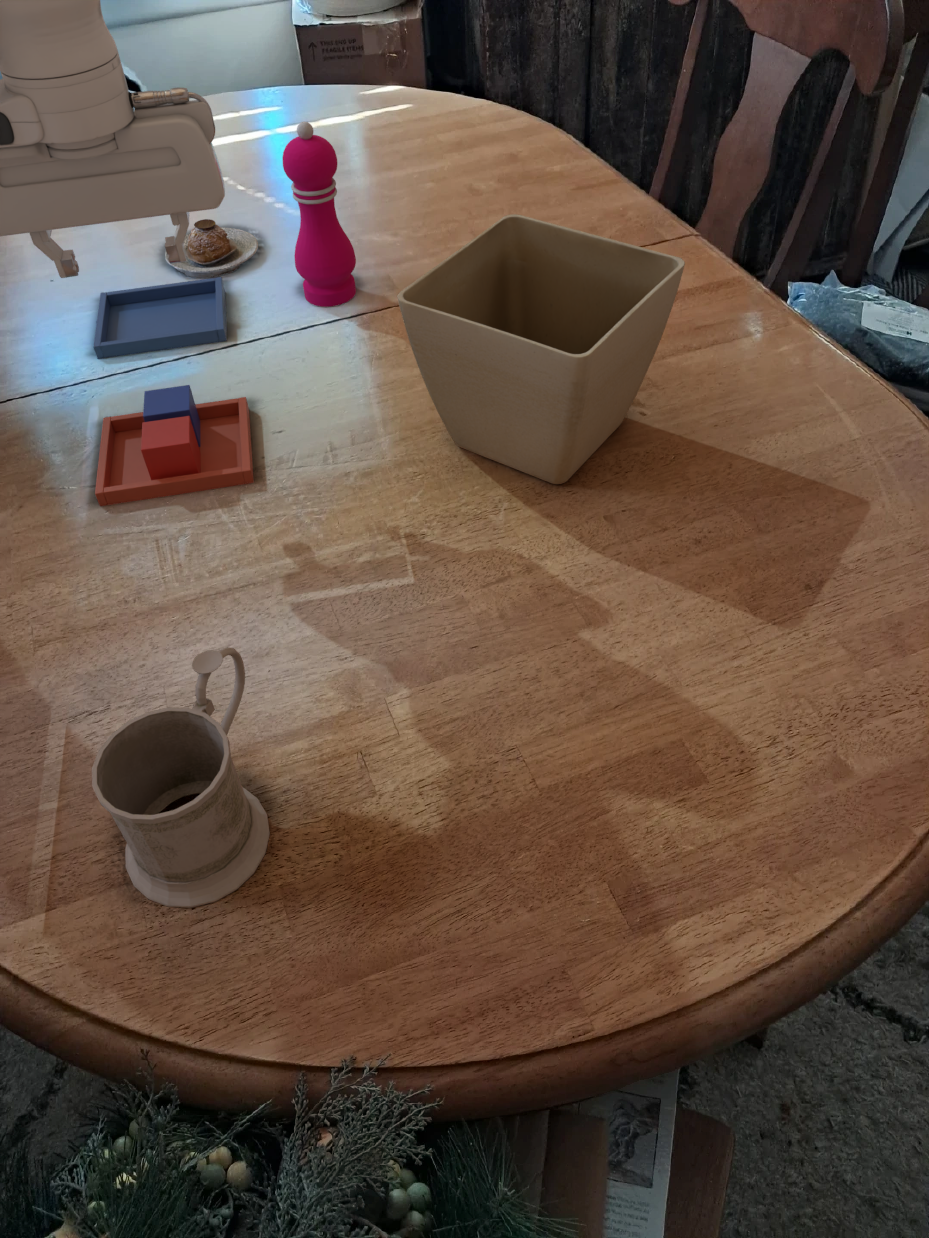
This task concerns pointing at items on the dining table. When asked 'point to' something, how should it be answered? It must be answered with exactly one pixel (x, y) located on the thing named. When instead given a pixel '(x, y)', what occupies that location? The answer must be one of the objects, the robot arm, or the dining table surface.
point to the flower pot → (538, 340)
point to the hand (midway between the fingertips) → (124, 267)
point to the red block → (170, 448)
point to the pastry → (215, 250)
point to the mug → (173, 768)
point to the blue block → (171, 406)
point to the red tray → (220, 467)
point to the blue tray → (160, 318)
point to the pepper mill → (319, 221)
